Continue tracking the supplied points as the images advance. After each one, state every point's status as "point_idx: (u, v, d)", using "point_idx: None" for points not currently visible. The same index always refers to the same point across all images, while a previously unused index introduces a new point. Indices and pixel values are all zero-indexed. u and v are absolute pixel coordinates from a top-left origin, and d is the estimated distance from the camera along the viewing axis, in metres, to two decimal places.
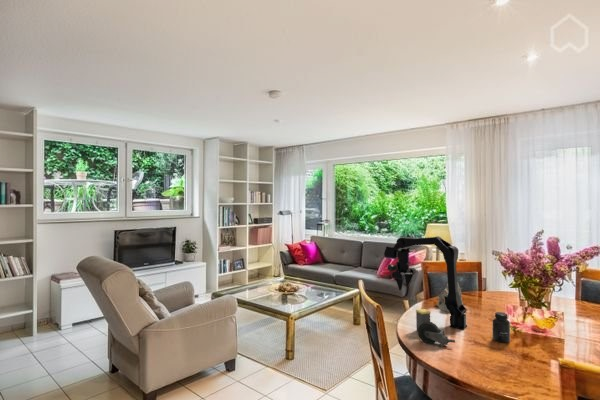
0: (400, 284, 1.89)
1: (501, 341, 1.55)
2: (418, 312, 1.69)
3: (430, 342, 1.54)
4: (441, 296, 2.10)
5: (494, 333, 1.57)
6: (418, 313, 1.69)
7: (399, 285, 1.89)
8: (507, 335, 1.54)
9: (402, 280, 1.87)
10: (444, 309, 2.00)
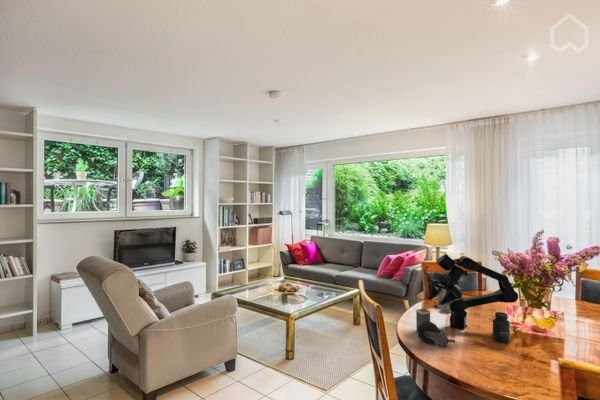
0: (447, 300, 1.67)
1: (501, 341, 1.55)
2: (418, 312, 1.69)
3: (430, 342, 1.54)
4: (440, 296, 2.10)
5: (494, 333, 1.57)
6: (418, 313, 1.69)
7: (445, 300, 1.67)
8: (507, 335, 1.54)
9: (453, 298, 1.67)
10: (443, 309, 2.00)
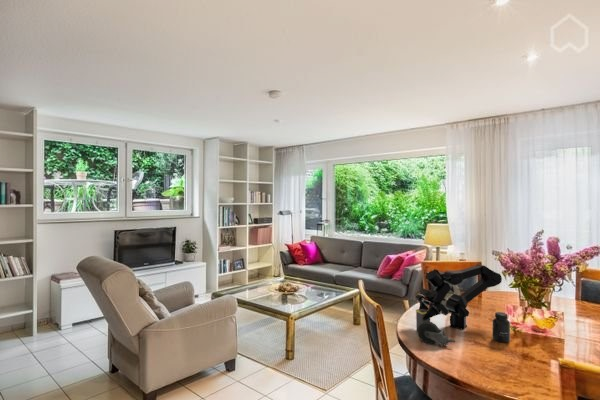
0: (430, 315, 1.67)
1: (501, 341, 1.55)
2: (418, 312, 1.69)
3: (430, 342, 1.54)
4: None
5: (494, 333, 1.57)
6: (418, 313, 1.69)
7: (428, 315, 1.66)
8: (507, 335, 1.54)
9: (436, 314, 1.67)
10: None
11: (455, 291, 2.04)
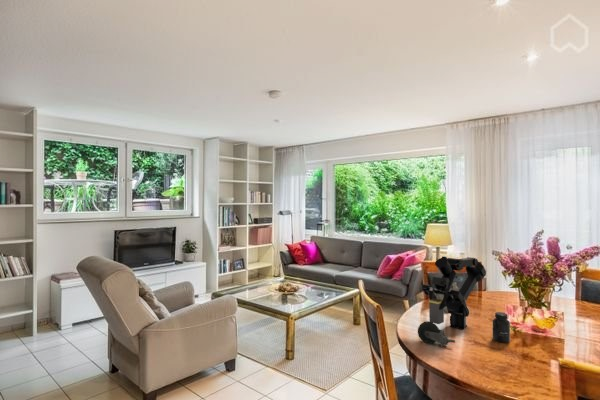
0: (445, 304, 1.61)
1: (501, 341, 1.55)
2: (432, 302, 1.61)
3: (430, 342, 1.54)
4: (439, 296, 2.10)
5: (494, 333, 1.57)
6: (432, 303, 1.61)
7: (443, 305, 1.60)
8: (507, 335, 1.54)
9: (450, 302, 1.62)
10: None
11: None
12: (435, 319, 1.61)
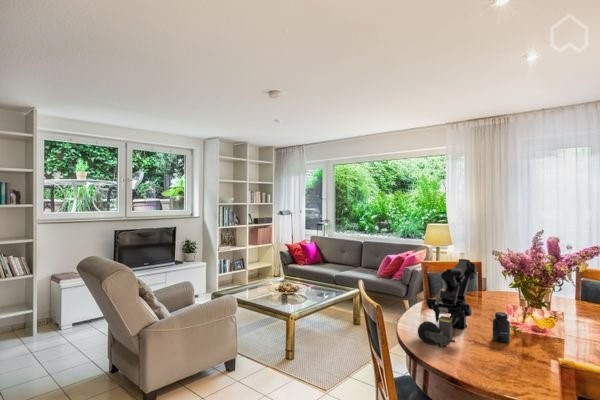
0: (457, 319, 1.57)
1: (501, 341, 1.55)
2: (443, 321, 1.57)
3: (430, 342, 1.54)
4: (438, 296, 2.10)
5: (494, 333, 1.57)
6: (443, 322, 1.57)
7: (456, 320, 1.56)
8: (507, 335, 1.54)
9: (460, 316, 1.58)
10: (441, 309, 2.01)
11: None
12: None
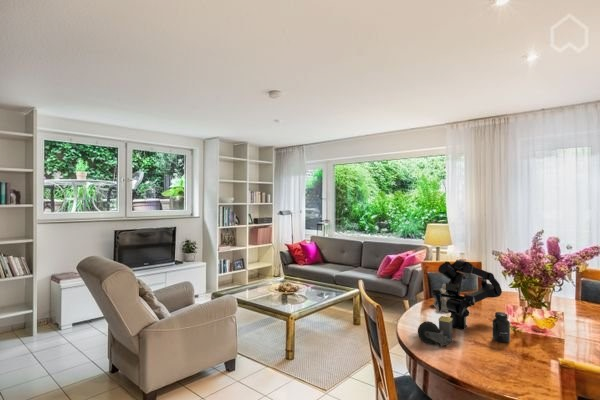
0: (464, 310, 1.65)
1: (501, 341, 1.55)
2: (443, 321, 1.57)
3: (430, 342, 1.54)
4: None
5: (494, 333, 1.57)
6: (443, 322, 1.57)
7: (463, 310, 1.64)
8: (507, 335, 1.54)
9: (467, 306, 1.66)
10: None
11: None
12: None
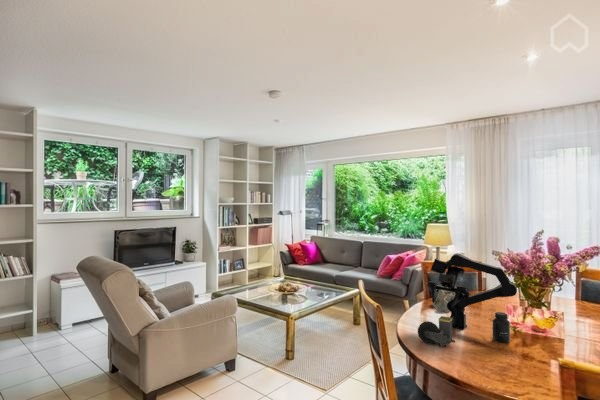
0: (456, 301, 1.65)
1: (501, 341, 1.55)
2: (443, 321, 1.57)
3: (430, 342, 1.54)
4: None
5: (494, 333, 1.57)
6: (443, 322, 1.57)
7: (455, 301, 1.64)
8: (507, 335, 1.54)
9: (461, 299, 1.66)
10: (440, 309, 2.01)
11: None
12: None
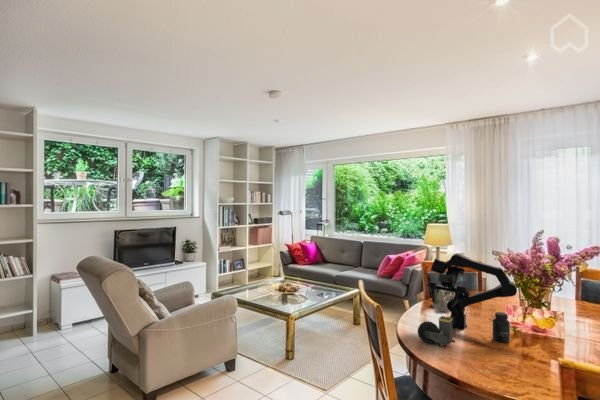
0: (456, 301, 1.65)
1: (501, 341, 1.55)
2: (443, 321, 1.57)
3: (430, 342, 1.54)
4: None
5: (494, 333, 1.57)
6: (443, 322, 1.57)
7: (455, 301, 1.64)
8: (507, 335, 1.54)
9: (461, 299, 1.66)
10: (439, 309, 2.01)
11: None
12: None
